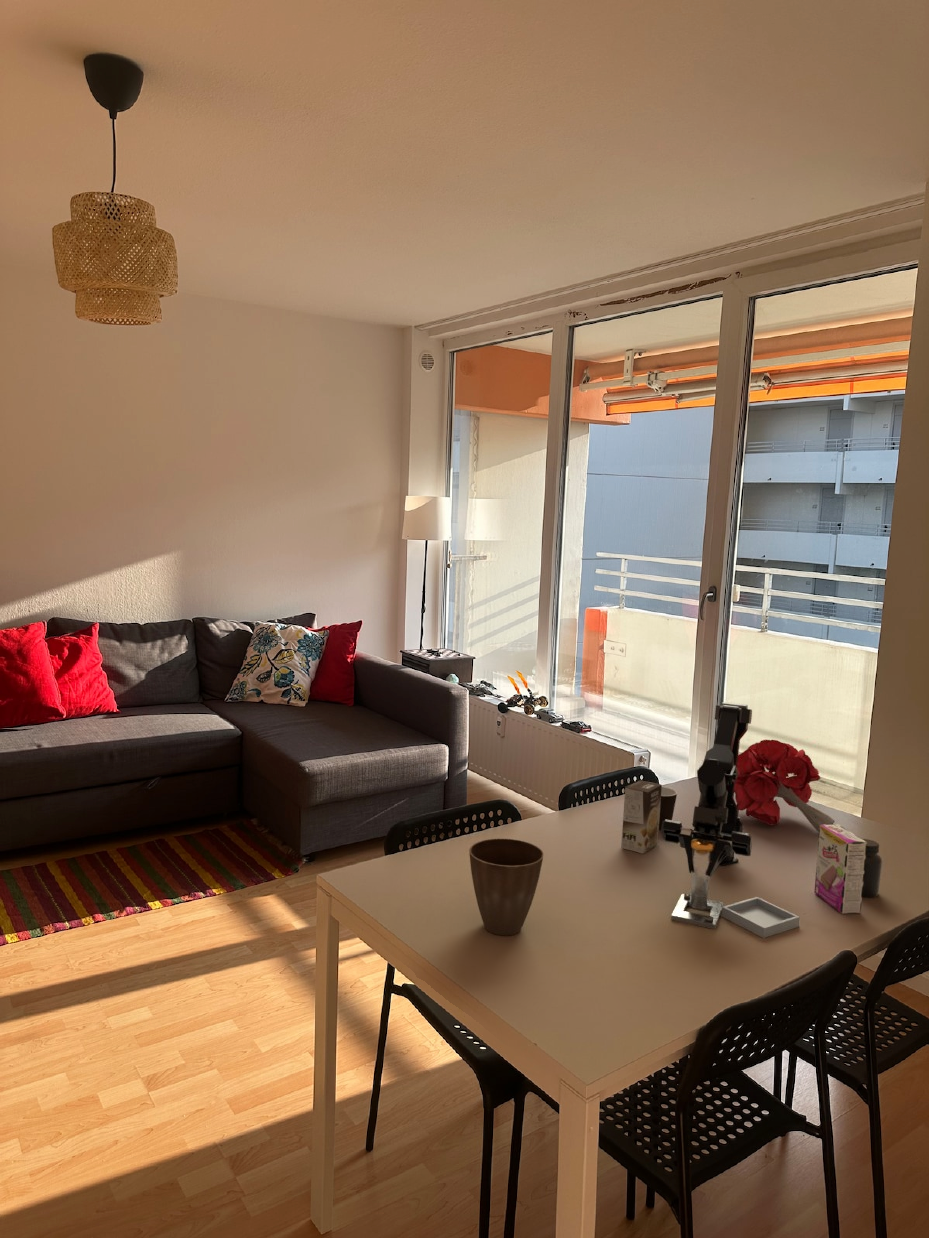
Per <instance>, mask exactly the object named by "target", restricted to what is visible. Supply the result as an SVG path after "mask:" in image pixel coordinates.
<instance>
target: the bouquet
mask: <svg viewBox="0 0 929 1238" xmlns="http://www.w3.org/2000/svg"><path fill="white" fill-rule="evenodd" d="M737 770H738V777H737V778H736V781H735V790H734V797H735V798H734V800H735V803H736V805H737V807H738V809H739V811H741V812H743V811H744V810H745V816H746V817H750V816H751V818H753V819H756V820H758V821H760V822H762V823H766V824H767V825H769V826H777V824H779V823H780V820H781V819H780V818H781V817H780V816H781V808H780V806H779V804H778V803H779V802H778V801H777V799H775V798H781V799H783V801H784V802H785V803H786V804H788V805H789V806H790V807H793V808H797V809H798V810H799V811H800V812H801V814H802V815H804V817H805V818H806V820H807V821H808V822H809V823H810V824H811V825H812V827H813V828H814V829H815V830H816V831H817V832H818V833H819V830H820V825H823V824H826V825H827V824H835V823H836V822H835V821H836V820H835V819H833V818H832V817H831V816H829V815H828V814H827V813H825V812H823V811H821V810H819V809H818V808H815V807H813V806H812V805H809V804H807V803H809V801H810V799H811V798H812V794H813V789H812V788H811V785H810V783H811V782H817V781H819V780H820V779H822V778H821V775H819V774H820V773H819V770H818V769H817V768H816V767H815V766H814V764H813V761H812V759H811V758H810V756H809V754H806V751H805V750H804V749H800V750H798V749H797V748H795V747H794V746H793V745H792V744H790V743H785V742H782V741H779V740H776V739H762V740H760V741H759V742H754V743H753V744H751V745H750V746H748V748H747V749H746V750H744V751H742V752H741V753H740V754H739V753H738V762H737ZM790 774H791V776H790ZM774 799H775V800H774Z"/></svg>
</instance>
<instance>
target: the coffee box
mask: <svg viewBox="0 0 929 1238" xmlns="http://www.w3.org/2000/svg"><path fill="white" fill-rule="evenodd" d="M662 787H663V785H662V784H660V783H656V782H651V781H646V780H645V781H644V780H641V779H639V780H637V781H636V782H634V783H631V784H629V785H627V786H624V802H623V817H622V830H621V844H620V845H621V849H624V850H628V851H631V852H636V853H638V854H645V853H647V852H648V851H649V850H651V849H652V848H654V847H655V846H657V845H658V843H659V832H660V830H659V818H660V804H661V790H662Z"/></svg>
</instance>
